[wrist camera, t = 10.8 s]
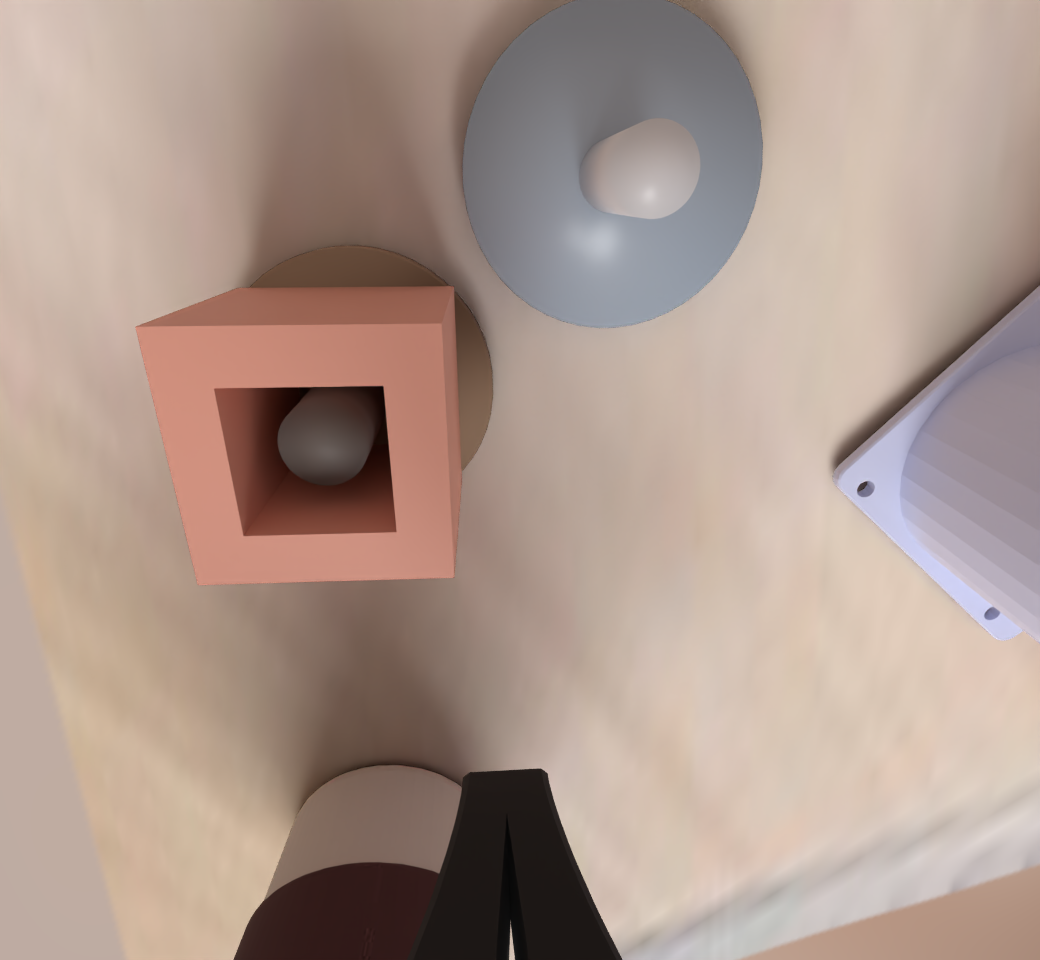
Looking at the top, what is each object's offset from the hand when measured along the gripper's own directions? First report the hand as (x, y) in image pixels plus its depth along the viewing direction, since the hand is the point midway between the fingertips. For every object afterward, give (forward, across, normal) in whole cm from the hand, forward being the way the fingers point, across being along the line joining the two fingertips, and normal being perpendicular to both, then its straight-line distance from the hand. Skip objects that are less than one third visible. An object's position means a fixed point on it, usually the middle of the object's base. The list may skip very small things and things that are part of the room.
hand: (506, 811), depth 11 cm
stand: (+9, -3, -10) cm, 14 cm away
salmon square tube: (+9, +4, -5) cm, 11 cm away
